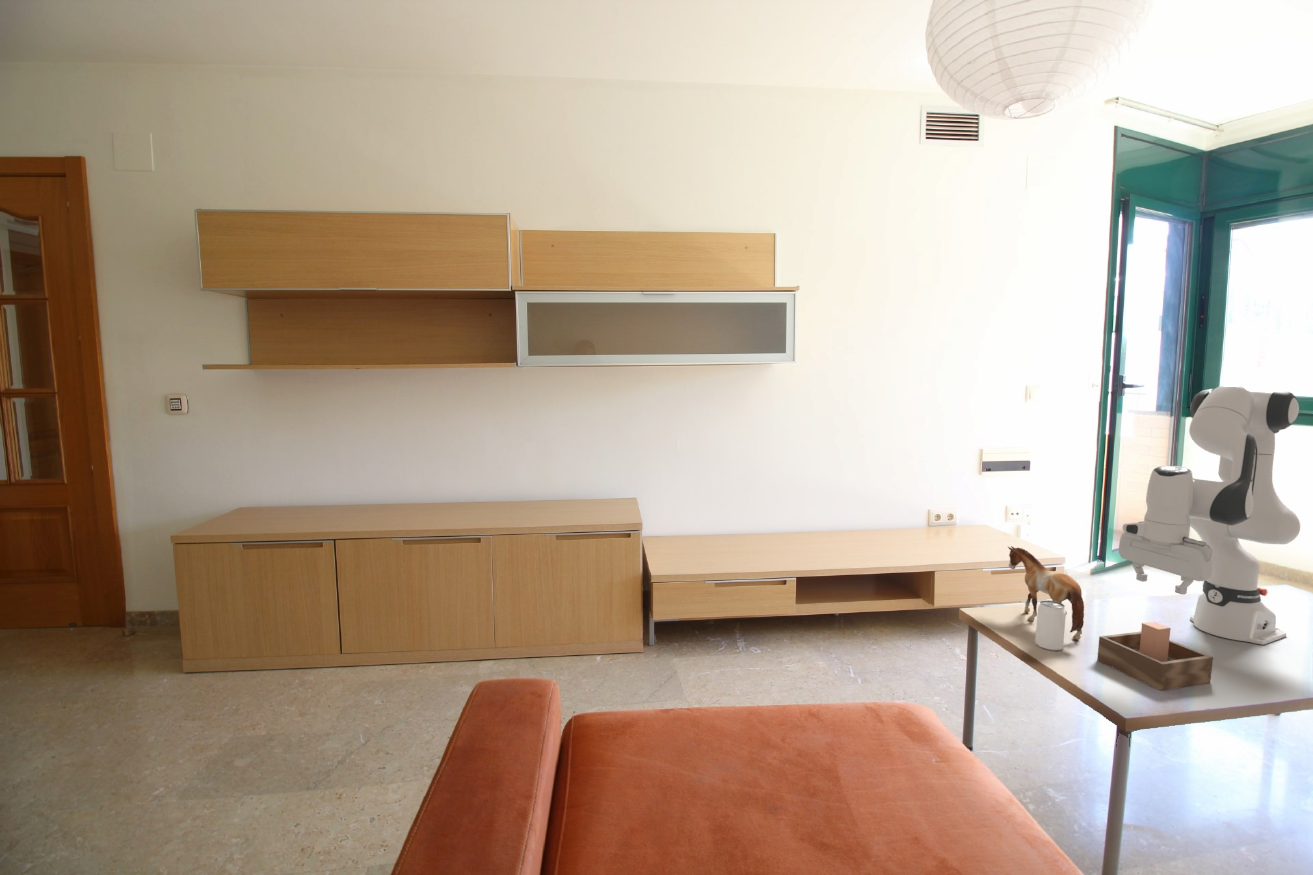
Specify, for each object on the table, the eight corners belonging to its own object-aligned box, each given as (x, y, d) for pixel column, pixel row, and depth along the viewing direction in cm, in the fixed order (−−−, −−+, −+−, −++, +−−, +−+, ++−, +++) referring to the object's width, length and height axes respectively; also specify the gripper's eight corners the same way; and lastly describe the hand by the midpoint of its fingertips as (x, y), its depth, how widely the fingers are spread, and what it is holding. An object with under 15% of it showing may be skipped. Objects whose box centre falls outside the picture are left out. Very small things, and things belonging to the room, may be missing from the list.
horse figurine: (1001, 607, 200) (1006, 544, 198) (1024, 607, 201) (1029, 544, 199) (1073, 650, 170) (1080, 576, 167) (1100, 650, 170) (1107, 576, 168)
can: (1067, 652, 168) (1070, 609, 167) (1040, 649, 170) (1044, 607, 168) (1057, 642, 175) (1060, 600, 174) (1031, 640, 176) (1034, 598, 175)
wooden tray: (1144, 654, 168) (1146, 630, 167) (1210, 682, 153) (1213, 657, 152) (1097, 660, 164) (1099, 636, 163) (1160, 690, 149) (1163, 664, 148)
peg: (1149, 666, 161) (1154, 621, 160) (1165, 674, 157) (1170, 627, 156) (1137, 668, 160) (1142, 623, 158) (1153, 675, 156) (1158, 629, 155)
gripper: (1222, 542, 145) (1216, 600, 147) (1135, 522, 165) (1130, 573, 167) (1202, 544, 144) (1196, 603, 145) (1116, 523, 163) (1111, 574, 165)
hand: (1160, 586), depth 156 cm, fingers open, 8 cm apart
